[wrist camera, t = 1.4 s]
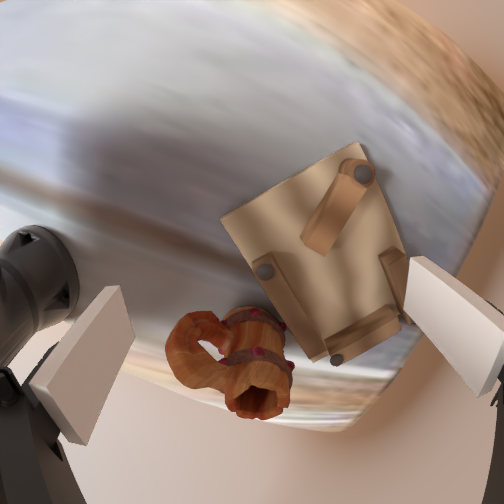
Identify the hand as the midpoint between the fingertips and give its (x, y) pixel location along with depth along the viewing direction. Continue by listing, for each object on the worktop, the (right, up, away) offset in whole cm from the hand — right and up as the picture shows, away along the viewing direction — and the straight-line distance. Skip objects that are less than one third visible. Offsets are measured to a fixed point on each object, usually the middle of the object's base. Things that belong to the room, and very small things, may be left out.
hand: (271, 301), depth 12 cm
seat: (+10, +1, +24) cm, 26 cm away
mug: (-3, -6, +26) cm, 27 cm away
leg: (+8, +8, +20) cm, 23 cm away
